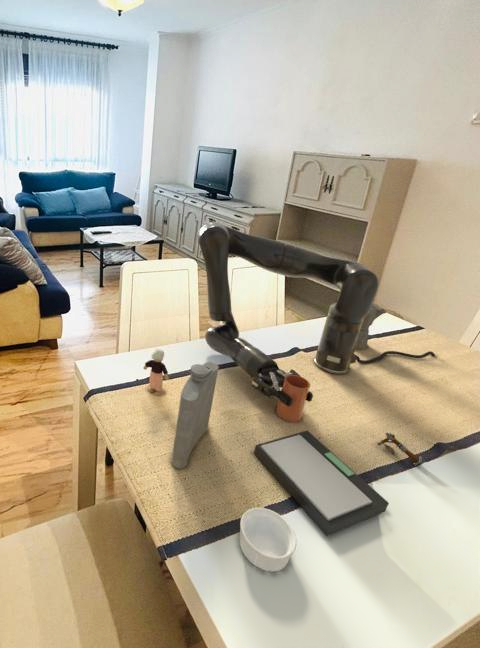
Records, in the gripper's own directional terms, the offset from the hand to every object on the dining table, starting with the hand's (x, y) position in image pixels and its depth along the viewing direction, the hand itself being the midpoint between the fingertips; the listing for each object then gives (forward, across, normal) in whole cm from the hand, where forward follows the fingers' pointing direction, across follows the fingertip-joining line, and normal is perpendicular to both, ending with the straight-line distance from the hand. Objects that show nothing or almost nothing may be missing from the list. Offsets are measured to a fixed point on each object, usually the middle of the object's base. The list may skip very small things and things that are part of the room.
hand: (301, 400), depth 94 cm
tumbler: (-2, 0, +6) cm, 6 cm away
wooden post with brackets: (+17, +14, +6) cm, 23 cm away
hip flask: (-1, -30, +6) cm, 31 cm away
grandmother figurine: (-21, -29, +6) cm, 37 cm away
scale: (+16, -10, +6) cm, 19 cm away
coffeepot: (-26, +50, +6) cm, 57 cm away
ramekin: (+24, -30, +6) cm, 39 cm away
